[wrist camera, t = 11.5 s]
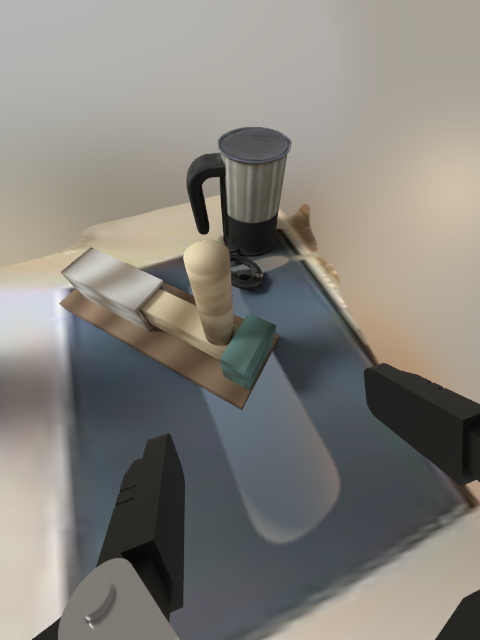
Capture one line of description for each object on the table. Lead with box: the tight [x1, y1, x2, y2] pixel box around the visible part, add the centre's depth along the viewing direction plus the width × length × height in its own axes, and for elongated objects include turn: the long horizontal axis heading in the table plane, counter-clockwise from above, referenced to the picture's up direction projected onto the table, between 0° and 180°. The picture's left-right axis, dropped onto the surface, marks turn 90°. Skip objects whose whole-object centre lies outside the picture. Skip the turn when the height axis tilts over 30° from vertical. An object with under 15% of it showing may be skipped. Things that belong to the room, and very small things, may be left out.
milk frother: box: [187, 127, 291, 290], centre depth 34 cm, size 14×16×15 cm
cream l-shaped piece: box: [139, 240, 240, 360], centre depth 24 cm, size 18×3×15 cm, turn 61°
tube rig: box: [59, 248, 279, 410], centre depth 31 cm, size 29×10×7 cm, turn 61°
